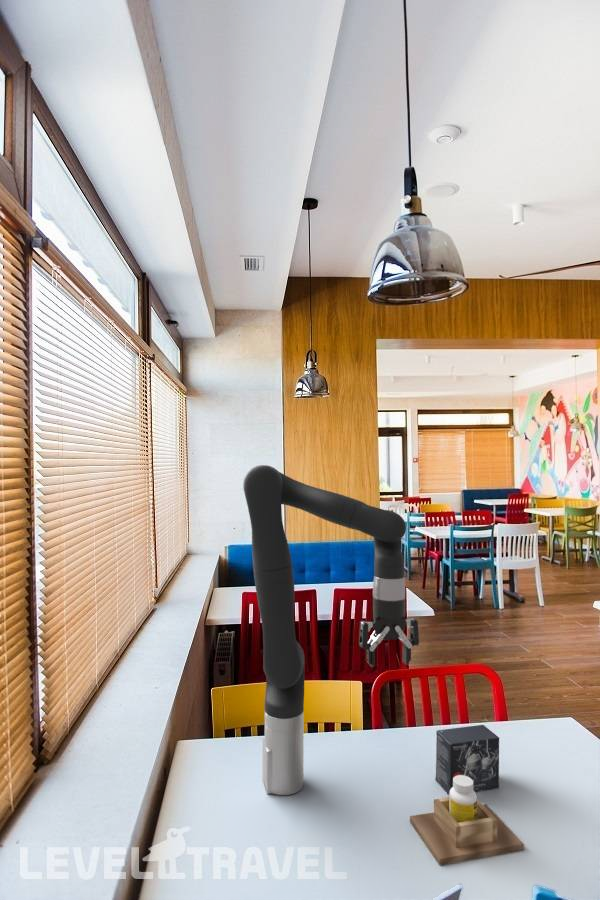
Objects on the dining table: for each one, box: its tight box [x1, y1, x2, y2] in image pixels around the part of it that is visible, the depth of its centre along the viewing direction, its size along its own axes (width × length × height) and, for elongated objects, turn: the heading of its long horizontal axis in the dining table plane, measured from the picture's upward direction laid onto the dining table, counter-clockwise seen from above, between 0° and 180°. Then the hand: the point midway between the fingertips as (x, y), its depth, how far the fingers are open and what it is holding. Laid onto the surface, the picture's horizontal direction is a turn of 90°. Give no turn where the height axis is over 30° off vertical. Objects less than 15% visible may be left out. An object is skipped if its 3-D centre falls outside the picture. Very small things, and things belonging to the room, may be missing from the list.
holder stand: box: [409, 796, 525, 866], centre depth 112 cm, size 18×13×5 cm
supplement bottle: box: [448, 775, 478, 823], centre depth 112 cm, size 5×5×10 cm
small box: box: [434, 724, 500, 795], centre depth 130 cm, size 13×7×12 cm, turn 105°
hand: (389, 664), depth 130 cm, fingers open, 8 cm apart
